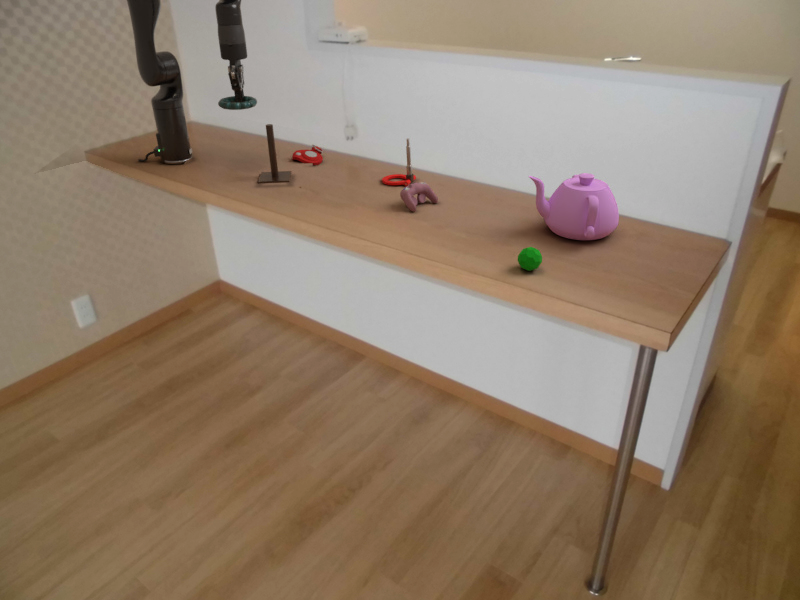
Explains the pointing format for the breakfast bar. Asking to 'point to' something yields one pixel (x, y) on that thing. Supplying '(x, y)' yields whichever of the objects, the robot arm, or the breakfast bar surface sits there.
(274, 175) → the brown peg stand
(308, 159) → the tracker holder
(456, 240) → the breakfast bar surface
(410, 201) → the video game controller
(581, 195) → the teapot
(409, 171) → the tow hook
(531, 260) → the polyhedron
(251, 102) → the ring
